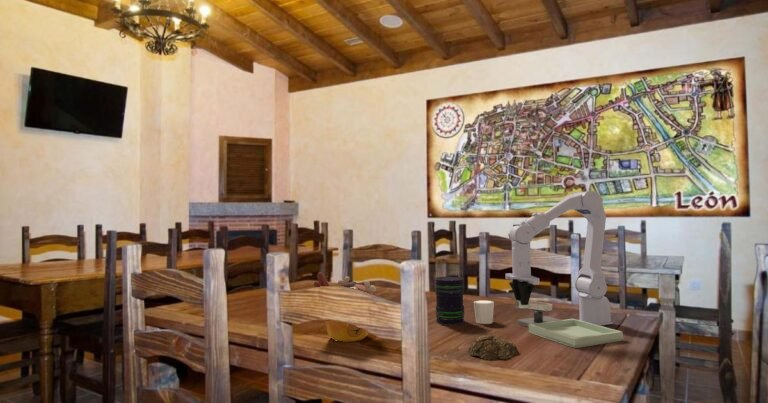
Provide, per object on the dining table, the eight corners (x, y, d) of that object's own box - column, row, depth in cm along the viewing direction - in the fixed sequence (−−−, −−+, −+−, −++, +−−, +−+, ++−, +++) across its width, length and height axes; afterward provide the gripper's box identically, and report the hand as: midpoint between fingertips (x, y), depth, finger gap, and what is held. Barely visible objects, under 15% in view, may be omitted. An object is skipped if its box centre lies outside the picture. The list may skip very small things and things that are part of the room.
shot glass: (494, 324, 159) (494, 303, 159) (474, 324, 160) (473, 303, 160) (494, 320, 165) (493, 300, 165) (474, 319, 167) (473, 299, 167)
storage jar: (463, 318, 169) (462, 276, 169) (465, 325, 159) (464, 280, 159) (435, 318, 170) (434, 276, 170) (435, 324, 160) (434, 280, 160)
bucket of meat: (384, 332, 151) (383, 269, 151) (370, 346, 135) (369, 276, 135) (326, 329, 156) (325, 268, 156) (305, 343, 140) (304, 275, 140)
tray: (573, 326, 155) (572, 318, 155) (622, 340, 137) (622, 331, 137) (528, 332, 148) (528, 324, 148) (575, 348, 130) (574, 339, 130)
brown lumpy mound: (481, 344, 136) (481, 327, 136) (522, 352, 128) (522, 333, 128) (458, 355, 126) (458, 337, 126) (502, 364, 118) (501, 344, 119)
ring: (538, 305, 162) (539, 298, 163) (557, 310, 154) (558, 303, 154) (508, 305, 157) (508, 298, 158) (525, 310, 149) (526, 302, 149)
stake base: (547, 319, 165) (546, 303, 165) (570, 326, 155) (570, 308, 155) (516, 323, 160) (516, 306, 160) (539, 330, 150) (538, 312, 150)
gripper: (497, 261, 160) (498, 301, 159) (526, 265, 146) (527, 309, 146) (514, 259, 162) (515, 299, 162) (544, 263, 149) (545, 307, 149)
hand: (522, 304), depth 154 cm, fingers closed on ring, 2 cm apart
